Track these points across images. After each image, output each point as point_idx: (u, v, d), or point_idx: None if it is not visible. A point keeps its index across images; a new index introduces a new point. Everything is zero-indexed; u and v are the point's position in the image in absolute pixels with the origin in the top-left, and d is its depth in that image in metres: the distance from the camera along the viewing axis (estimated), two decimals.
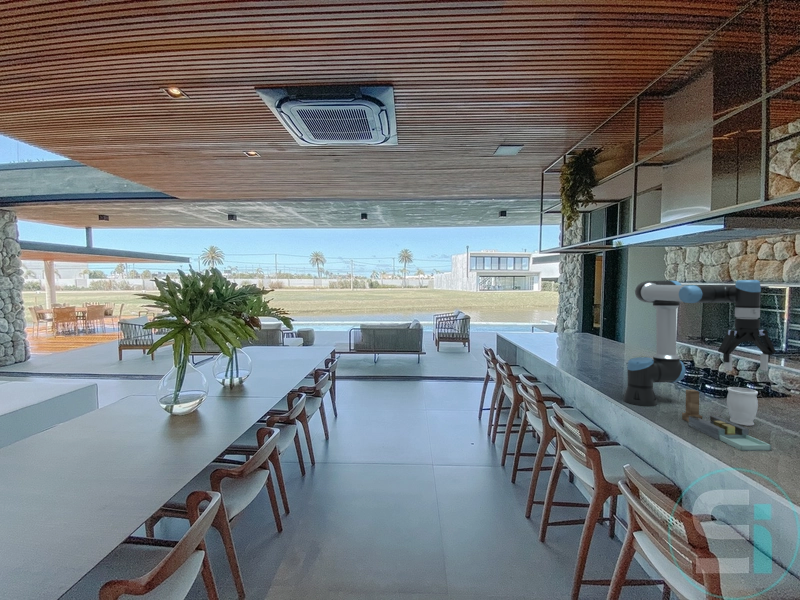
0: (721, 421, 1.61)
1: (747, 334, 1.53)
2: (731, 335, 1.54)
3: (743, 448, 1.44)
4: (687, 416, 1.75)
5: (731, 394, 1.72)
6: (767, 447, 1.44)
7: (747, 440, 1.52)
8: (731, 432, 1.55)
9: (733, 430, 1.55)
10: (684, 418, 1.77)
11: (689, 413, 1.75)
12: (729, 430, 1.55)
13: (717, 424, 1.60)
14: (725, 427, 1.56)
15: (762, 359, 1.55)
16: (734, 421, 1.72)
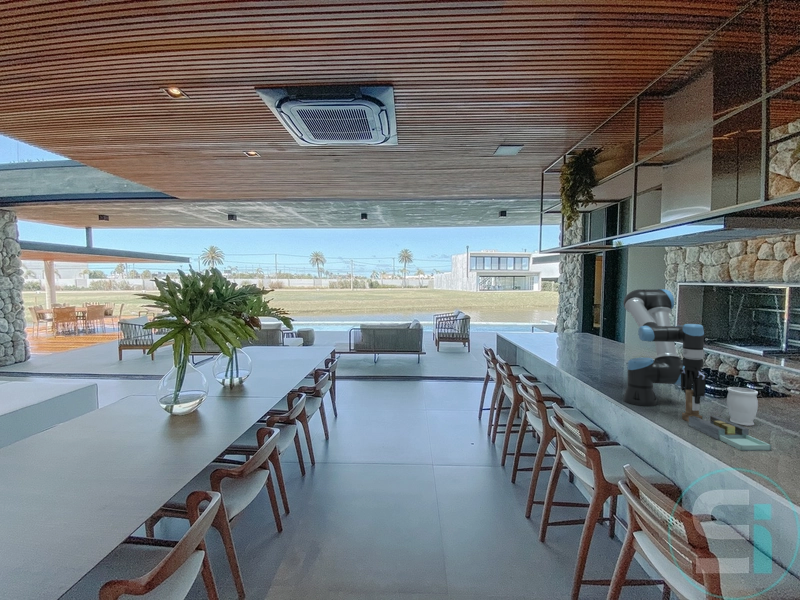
0: (721, 421, 1.61)
1: (686, 371, 1.76)
2: (681, 373, 1.81)
3: (743, 448, 1.44)
4: (687, 416, 1.75)
5: (731, 394, 1.72)
6: (767, 447, 1.44)
7: (747, 440, 1.52)
8: (731, 432, 1.55)
9: (733, 430, 1.55)
10: (684, 418, 1.77)
11: (689, 413, 1.75)
12: (729, 430, 1.55)
13: (717, 424, 1.60)
14: (725, 427, 1.56)
15: None
16: (734, 421, 1.72)
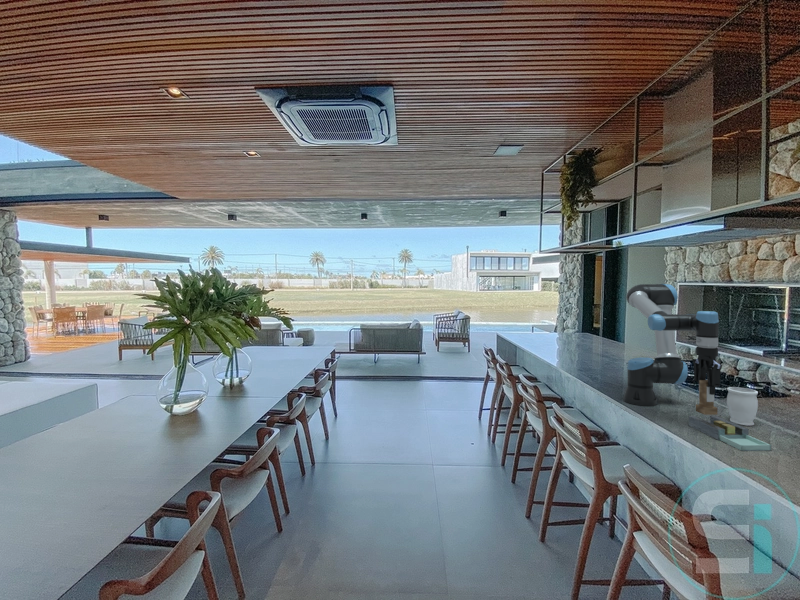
0: (721, 421, 1.61)
1: (699, 360, 1.68)
2: (694, 363, 1.73)
3: (743, 448, 1.44)
4: (701, 408, 1.67)
5: (731, 394, 1.72)
6: (767, 447, 1.44)
7: (747, 440, 1.52)
8: (731, 432, 1.55)
9: (733, 430, 1.55)
10: (698, 410, 1.68)
11: (703, 405, 1.67)
12: (729, 430, 1.55)
13: (717, 424, 1.60)
14: (725, 427, 1.56)
15: None
16: (734, 421, 1.72)
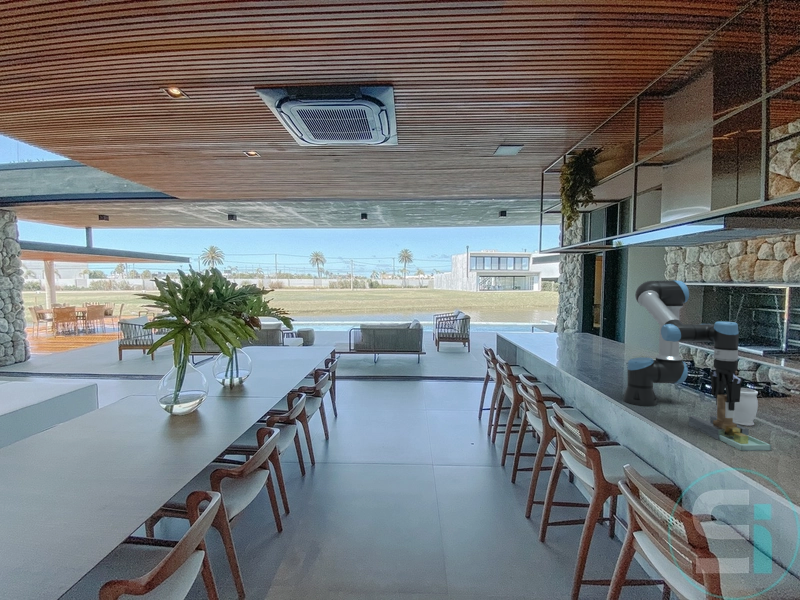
0: (734, 427, 1.54)
1: (717, 374, 1.59)
2: (711, 376, 1.63)
3: (743, 448, 1.44)
4: (719, 424, 1.57)
5: None
6: (767, 447, 1.44)
7: None
8: None
9: None
10: None
11: (721, 421, 1.57)
12: None
13: (730, 430, 1.53)
14: (739, 440, 1.50)
15: None
16: (734, 421, 1.72)
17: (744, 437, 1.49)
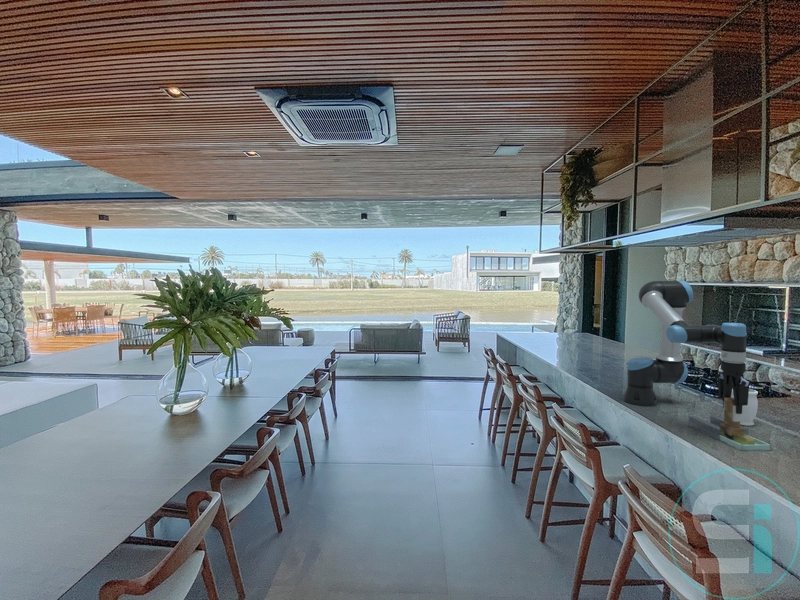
0: (741, 433, 1.51)
1: (725, 376, 1.55)
2: (718, 379, 1.59)
3: (743, 448, 1.44)
4: (726, 428, 1.54)
5: (731, 394, 1.72)
6: (767, 447, 1.44)
7: None
8: None
9: None
10: None
11: (729, 424, 1.54)
12: None
13: (737, 437, 1.50)
14: (745, 443, 1.47)
15: None
16: None
17: (750, 440, 1.46)
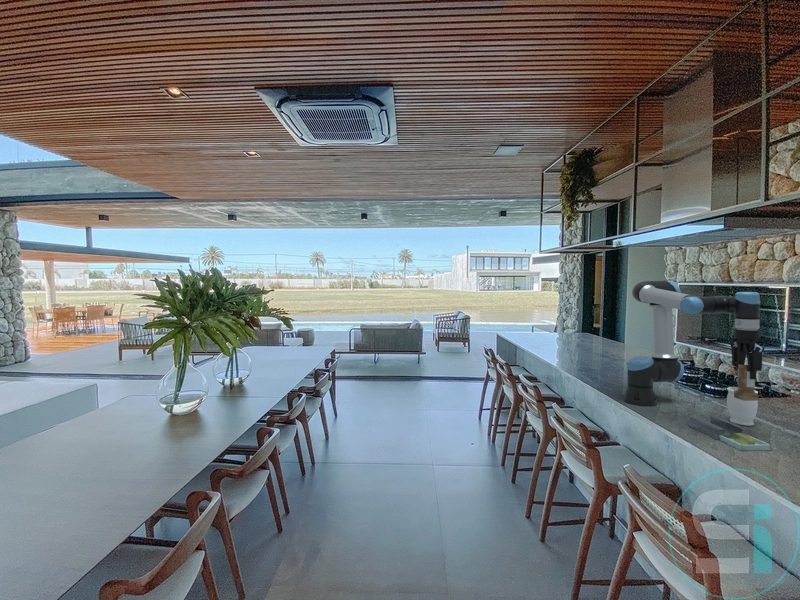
0: (742, 434, 1.51)
1: (739, 344, 1.60)
2: (732, 347, 1.64)
3: (743, 448, 1.44)
4: (740, 393, 1.58)
5: (731, 394, 1.72)
6: (767, 447, 1.44)
7: None
8: None
9: None
10: (737, 396, 1.60)
11: (743, 390, 1.58)
12: None
13: (738, 437, 1.50)
14: (745, 443, 1.47)
15: None
16: (734, 421, 1.72)
17: (751, 440, 1.46)
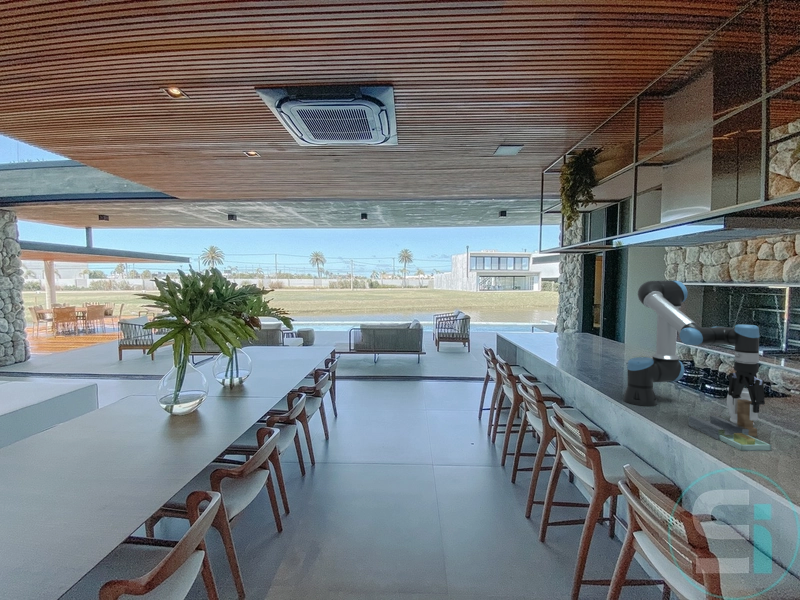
0: (742, 434, 1.51)
1: (738, 376, 1.60)
2: (730, 377, 1.65)
3: (743, 448, 1.44)
4: None
5: None
6: (767, 447, 1.44)
7: None
8: None
9: None
10: None
11: (742, 425, 1.59)
12: None
13: (738, 437, 1.50)
14: (745, 443, 1.47)
15: None
16: (734, 421, 1.72)
17: (751, 440, 1.46)
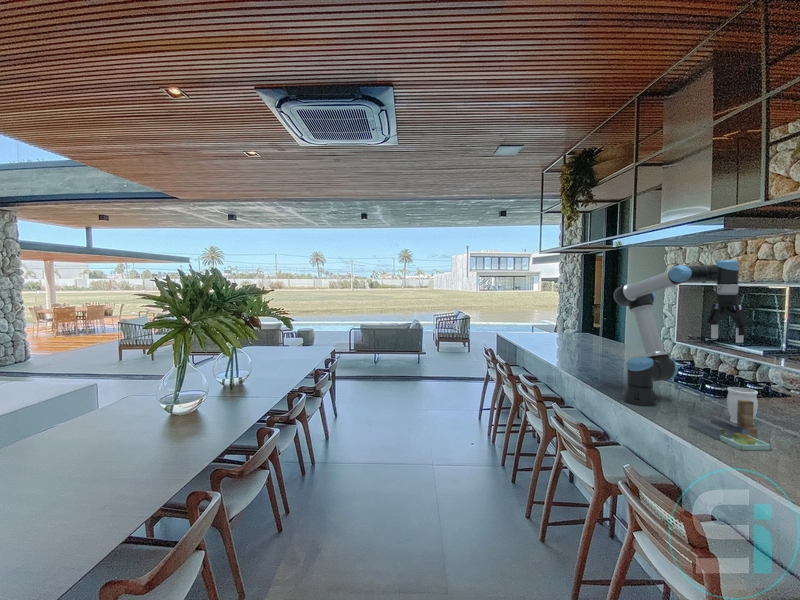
0: (742, 434, 1.51)
1: (720, 307, 1.76)
2: (712, 308, 1.82)
3: (743, 448, 1.44)
4: None
5: (731, 394, 1.72)
6: (767, 447, 1.44)
7: None
8: None
9: None
10: None
11: (742, 425, 1.59)
12: None
13: (738, 437, 1.50)
14: (745, 443, 1.47)
15: None
16: (734, 421, 1.72)
17: (751, 440, 1.46)
